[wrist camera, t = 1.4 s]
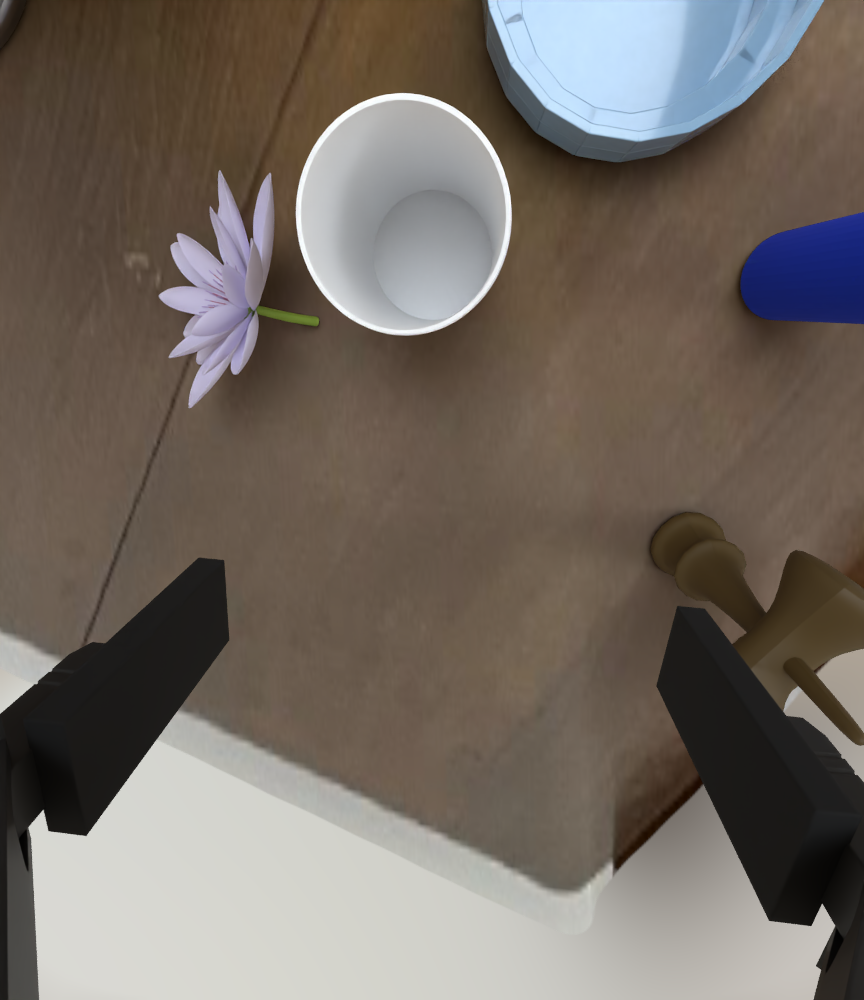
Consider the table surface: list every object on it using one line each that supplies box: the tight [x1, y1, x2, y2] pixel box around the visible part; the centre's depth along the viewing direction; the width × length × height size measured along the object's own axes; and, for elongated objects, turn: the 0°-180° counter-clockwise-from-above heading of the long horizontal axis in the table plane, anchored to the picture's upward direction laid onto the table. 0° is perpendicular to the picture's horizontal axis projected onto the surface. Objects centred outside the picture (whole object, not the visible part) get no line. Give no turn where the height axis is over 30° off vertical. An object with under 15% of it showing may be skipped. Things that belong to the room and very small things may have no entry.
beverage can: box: [740, 212, 864, 324], centre depth 27 cm, size 5×5×15 cm
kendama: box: [651, 512, 864, 746], centre depth 31 cm, size 6×10×20 cm, turn 146°
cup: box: [296, 93, 512, 336], centre depth 28 cm, size 8×8×16 cm
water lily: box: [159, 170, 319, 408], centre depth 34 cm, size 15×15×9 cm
